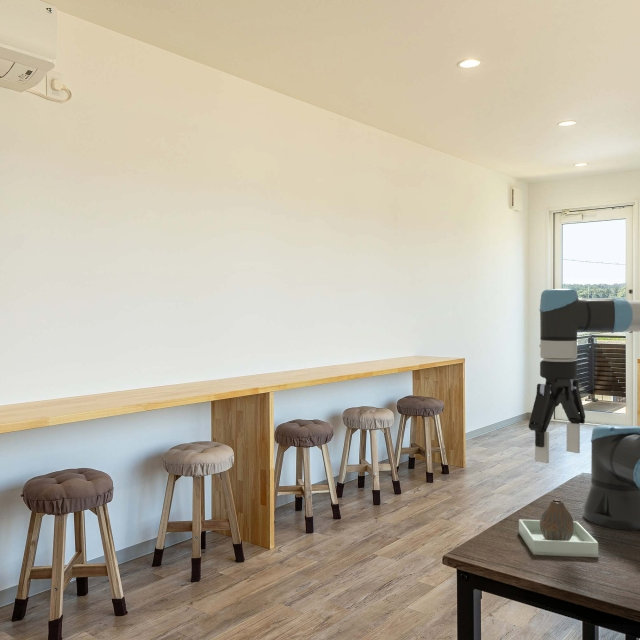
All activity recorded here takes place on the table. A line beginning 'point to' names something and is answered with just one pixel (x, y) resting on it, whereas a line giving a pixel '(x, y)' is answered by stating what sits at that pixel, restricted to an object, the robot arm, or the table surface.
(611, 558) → the table surface
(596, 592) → the table surface
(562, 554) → the tray
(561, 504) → the vase
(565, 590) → the table surface
